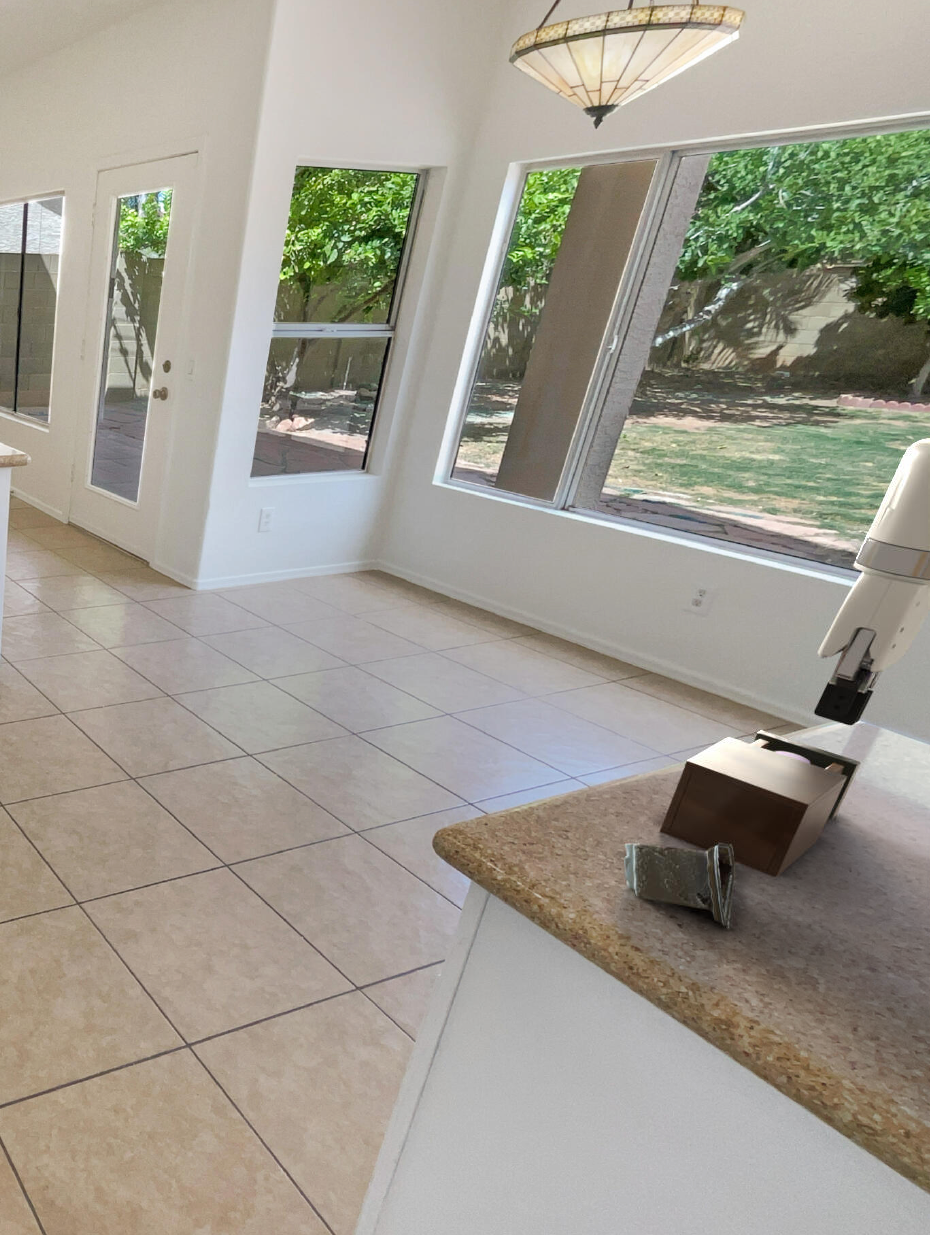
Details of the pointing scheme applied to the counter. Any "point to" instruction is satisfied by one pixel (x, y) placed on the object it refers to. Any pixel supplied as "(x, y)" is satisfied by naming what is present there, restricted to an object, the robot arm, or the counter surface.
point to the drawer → (813, 760)
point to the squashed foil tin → (683, 876)
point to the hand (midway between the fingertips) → (835, 718)
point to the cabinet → (752, 804)
